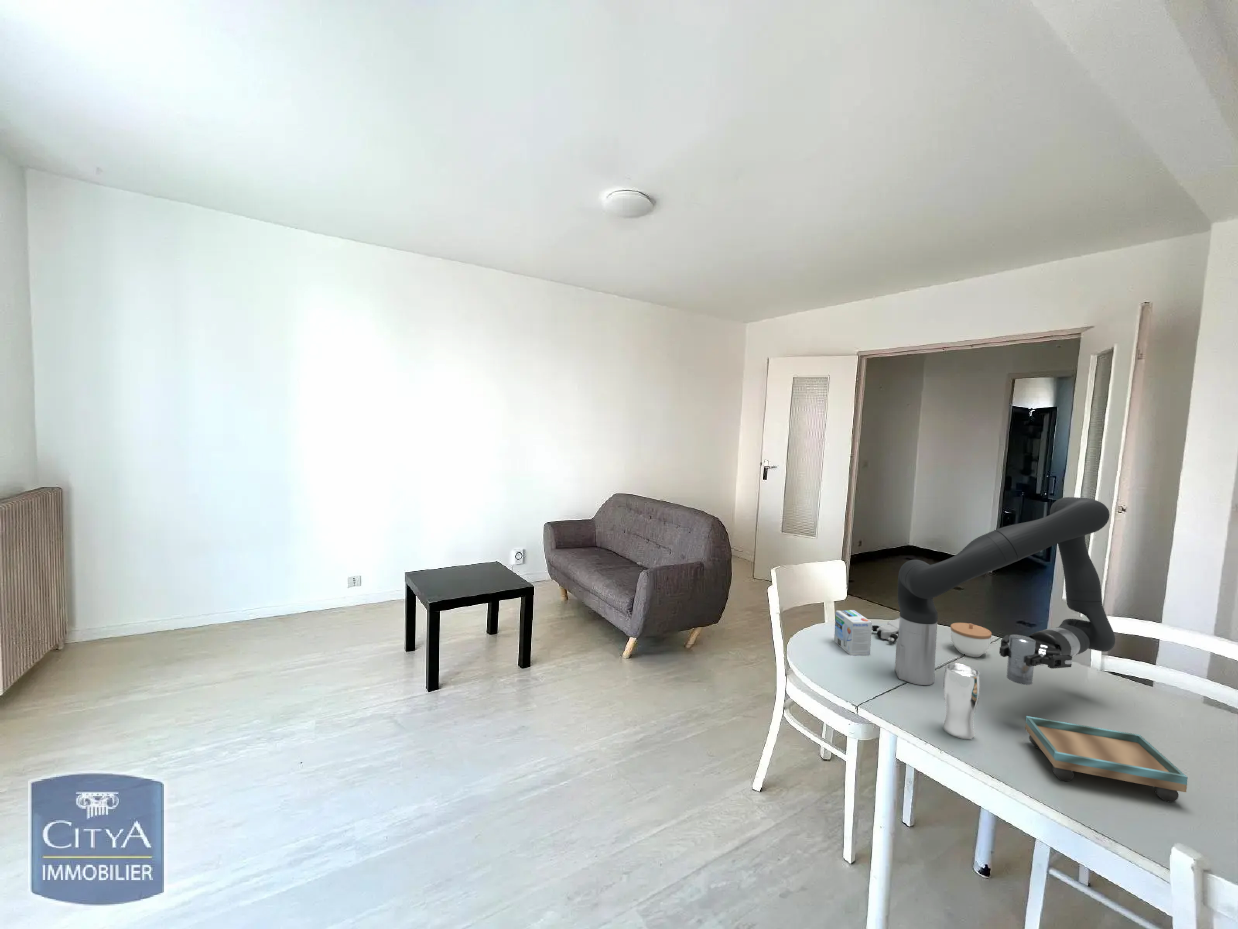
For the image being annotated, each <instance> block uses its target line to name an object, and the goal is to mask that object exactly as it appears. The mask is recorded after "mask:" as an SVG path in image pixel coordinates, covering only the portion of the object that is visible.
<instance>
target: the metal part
mask: <svg viewBox="0 0 1238 929" xmlns="http://www.w3.org/2000/svg"><path fill="white" fill-rule="evenodd" d="M1009 635H1010V639H1009V652H1008V656H1007V668H1006V678H1007V679H1008V680H1009V681H1012V682H1013V683H1016V684H1020V685H1026V686H1030V685H1032V684H1033V680H1034V678H1033V677H1034V667H1035V666H1032V667H1029V666H1026V659H1027V657H1028V656H1031V655H1034V654H1035V644H1036V641H1035V640H1034V639H1032V638H1029V636H1026V635H1021V634H1009Z"/></svg>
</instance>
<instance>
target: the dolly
mask: <svg viewBox="0 0 1238 929" xmlns="http://www.w3.org/2000/svg"><path fill="white" fill-rule="evenodd" d="M1024 726H1025V727H1024V729H1025V730H1026V732H1027V733H1028V734H1029V736H1028V740H1029V742H1030V743H1031V744H1032V746H1034V747H1035V748H1036V749H1040V750H1041V751H1042V752H1043V754H1044V755H1045V756H1046V758H1047V759H1048V761H1049V763H1051V764H1052V773H1053V775H1055V776H1056V778H1057V779H1059V780H1060V781H1062V782H1070V781H1072V780H1073V778H1074V772H1077V773H1083V774H1087V775H1092V776H1097V777H1103V778H1106V779H1107V778H1108V779H1113V780H1118V781H1123V782H1124V781H1125V782H1128V783H1135V784H1139V785H1146V786H1148V787H1149V786H1150V787H1153V790H1154V793H1155V794H1156V795H1157V796H1158V797H1159V798H1160V799H1161V800H1162V801H1164V802H1168V801H1169V803H1172V802H1173V803H1174V802H1176V801H1177V800H1178V798H1179V792H1181V793H1187V788H1188V776H1187V775H1186V774H1184V772H1183V771H1181V769H1179V768H1178V767H1177V766H1176V765H1175V764H1174V763H1172V762H1171V761H1170V760H1169V759H1168V758H1166V756H1164V754H1162V753H1161V752H1160V751H1159V750H1157V748H1155V747H1154V746H1153V745H1152V744H1151V743H1150V742H1149V741H1147V739H1146V738H1144V737H1143V736H1142V735H1141V734H1137V733H1131V732H1126V731H1119V730H1114V729H1108V728H1103V727H1095V726H1090V725H1089V726H1088V725H1082V724H1077V723H1071V722H1066V721H1058V720H1053V719H1046V718H1040V717H1036V716H1035V717H1034V716H1030V715H1029V716H1028V715H1026V716H1025V725H1024Z"/></svg>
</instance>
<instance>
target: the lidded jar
mask: <svg viewBox="0 0 1238 929" xmlns="http://www.w3.org/2000/svg"><path fill="white" fill-rule="evenodd" d="M949 627H950V628H949V629H950V640H951V642H952V645H953V646H954V648H955V649H956V650H957V651H959V653H960V654H962V655H964V654H965V655H964V656H967V657H973V658H979V657H981V656H982V655H984V654H985V653H987V652H988V650H989V649H990V647H991V640H992V634H993V633H992V631H991V630H989V629H988V628H986V627H984V626H983V627H982V626H980V625H977V624H973V623H967V622H954V623H951V624H950V626H949Z"/></svg>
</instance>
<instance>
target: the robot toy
mask: <svg viewBox="0 0 1238 929" xmlns="http://www.w3.org/2000/svg"><path fill="white" fill-rule="evenodd" d="M899 618H900V617H899ZM899 618H898V617H897V618H896V619H892V620H889V621H887V624H883V625H873V624H872V629H871V631H872V632H875V633H876V636H877V637H879V638H881V639H884V640H886V641H890V642H894V643H895V642H896V640H897V639H898V636H899Z"/></svg>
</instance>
